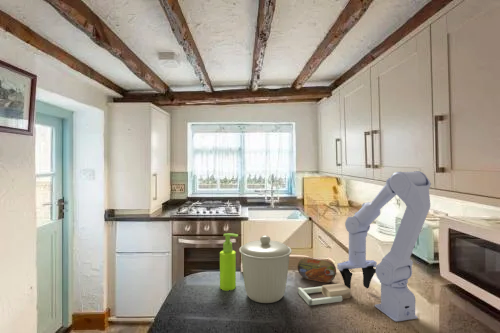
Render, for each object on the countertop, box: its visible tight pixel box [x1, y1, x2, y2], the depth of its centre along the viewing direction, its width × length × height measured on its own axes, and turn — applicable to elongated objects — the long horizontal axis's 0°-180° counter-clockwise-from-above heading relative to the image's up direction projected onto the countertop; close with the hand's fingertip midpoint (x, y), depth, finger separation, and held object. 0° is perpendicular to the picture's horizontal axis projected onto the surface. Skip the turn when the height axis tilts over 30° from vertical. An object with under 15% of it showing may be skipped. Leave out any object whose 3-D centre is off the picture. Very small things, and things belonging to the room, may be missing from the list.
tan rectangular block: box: [321, 282, 352, 300], centre depth 100 cm, size 5×8×3 cm, turn 103°
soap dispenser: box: [219, 232, 239, 292], centre depth 106 cm, size 6×7×20 cm
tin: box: [297, 256, 337, 283], centre depth 113 cm, size 15×3×8 cm, turn 62°
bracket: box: [297, 285, 343, 306], centre depth 98 cm, size 9×12×2 cm
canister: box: [238, 235, 293, 304], centre depth 99 cm, size 18×18×21 cm
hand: (357, 288), depth 102 cm, fingers open, 7 cm apart
